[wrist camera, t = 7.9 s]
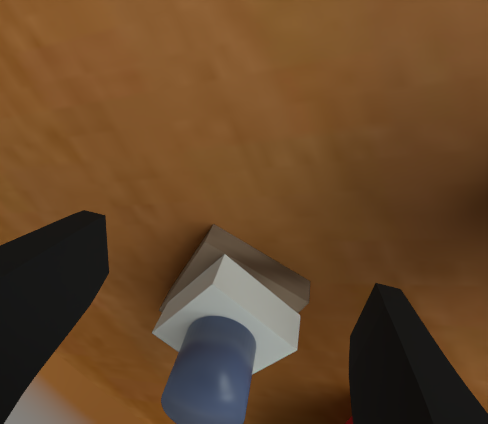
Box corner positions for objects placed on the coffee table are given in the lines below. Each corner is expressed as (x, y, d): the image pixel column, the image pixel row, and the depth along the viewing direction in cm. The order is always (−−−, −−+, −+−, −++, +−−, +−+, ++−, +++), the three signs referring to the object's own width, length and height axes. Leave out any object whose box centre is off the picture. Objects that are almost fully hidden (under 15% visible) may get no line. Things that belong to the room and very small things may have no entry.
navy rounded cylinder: (266, 331, 19) (256, 401, 16) (243, 374, 22) (230, 445, 18) (195, 306, 19) (170, 370, 16) (179, 352, 21) (154, 418, 18)
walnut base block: (310, 274, 23) (308, 302, 21) (255, 331, 27) (248, 359, 25) (216, 218, 22) (204, 241, 20) (172, 284, 26) (158, 310, 24)
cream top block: (300, 315, 22) (297, 350, 20) (237, 353, 25) (228, 387, 23) (224, 253, 21) (212, 283, 18) (167, 302, 24) (151, 332, 21)
